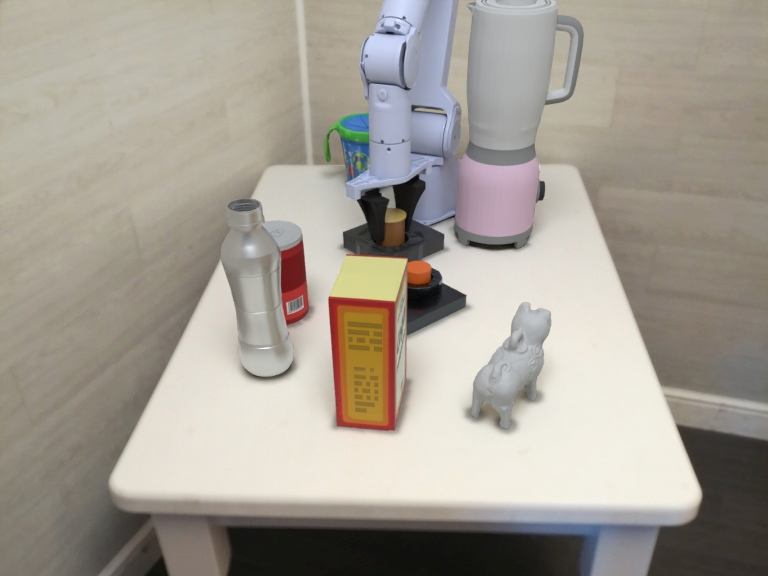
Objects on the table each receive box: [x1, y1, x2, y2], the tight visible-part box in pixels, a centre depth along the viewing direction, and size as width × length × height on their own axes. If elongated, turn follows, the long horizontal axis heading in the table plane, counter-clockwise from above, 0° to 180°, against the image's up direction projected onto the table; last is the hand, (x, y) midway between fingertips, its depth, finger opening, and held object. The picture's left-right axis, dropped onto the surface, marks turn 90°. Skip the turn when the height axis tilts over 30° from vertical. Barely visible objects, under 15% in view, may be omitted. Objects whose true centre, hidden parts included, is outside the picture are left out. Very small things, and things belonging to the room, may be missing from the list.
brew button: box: [407, 260, 432, 284], centre depth 97 cm, size 4×4×2 cm
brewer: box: [407, 266, 467, 337], centre depth 98 cm, size 11×10×4 cm
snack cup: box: [323, 112, 370, 182], centre depth 126 cm, size 16×10×10 cm
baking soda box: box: [327, 253, 408, 432], centre depth 78 cm, size 10×6×16 cm
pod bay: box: [342, 219, 445, 263], centre depth 110 cm, size 12×12×2 cm
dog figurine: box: [470, 301, 552, 430], centre depth 80 cm, size 5×13×11 cm, turn 147°
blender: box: [453, 0, 585, 249], centre depth 103 cm, size 16×12×32 cm
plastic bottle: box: [219, 197, 295, 378], centre depth 82 cm, size 6×7×20 cm
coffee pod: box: [376, 207, 406, 246], centre depth 107 cm, size 5×5×4 cm
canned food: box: [263, 220, 310, 326], centre depth 94 cm, size 8×8×11 cm
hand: (390, 234), depth 108 cm, fingers closed on coffee pod, 5 cm apart
